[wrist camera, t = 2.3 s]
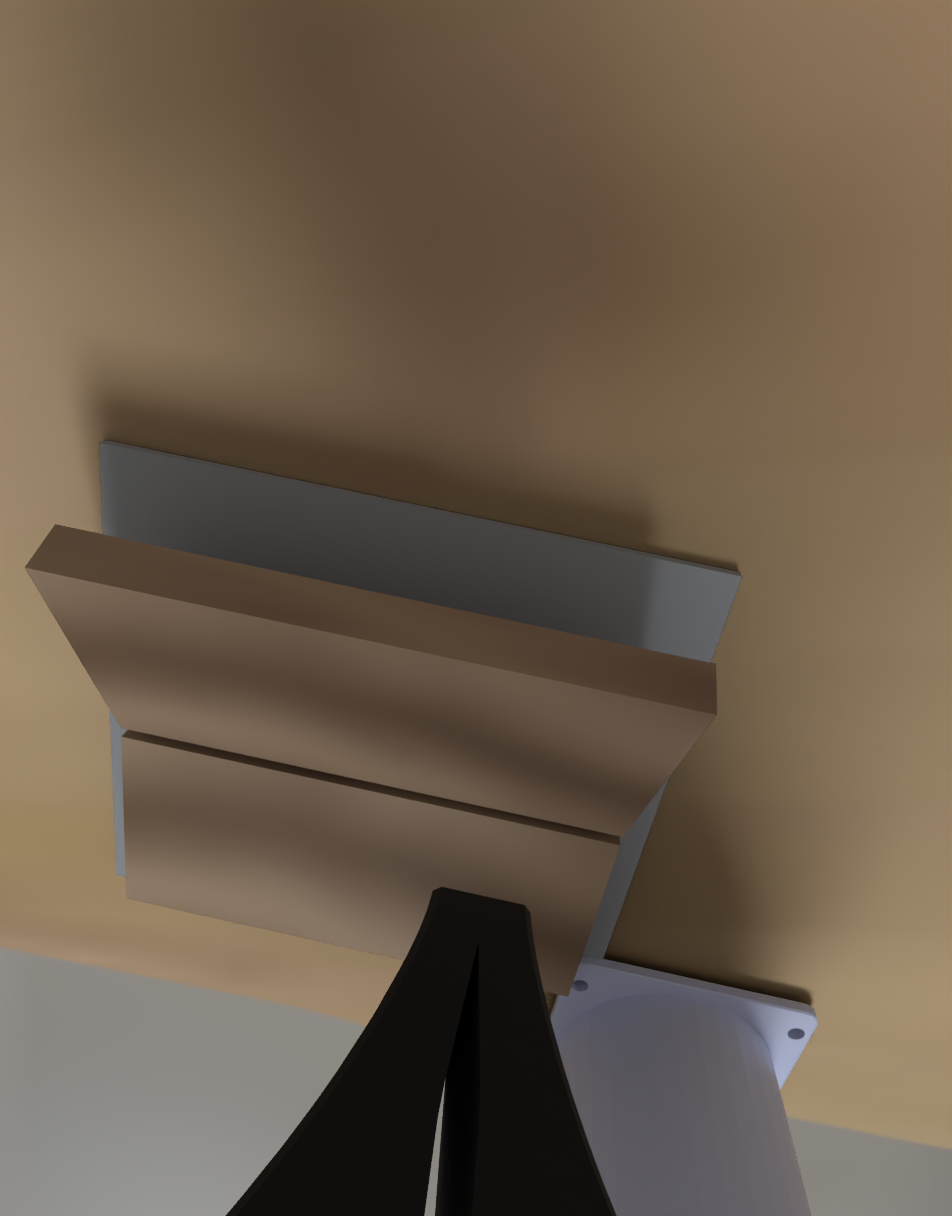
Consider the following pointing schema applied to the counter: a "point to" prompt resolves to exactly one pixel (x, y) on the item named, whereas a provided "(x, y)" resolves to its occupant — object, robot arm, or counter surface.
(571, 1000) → the robot arm
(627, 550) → the plate
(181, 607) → the board
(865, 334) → the counter surface
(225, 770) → the laid plank
